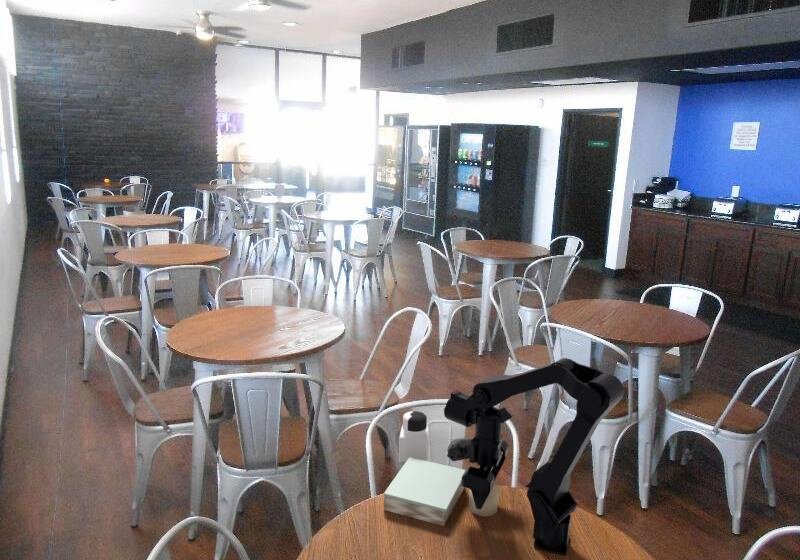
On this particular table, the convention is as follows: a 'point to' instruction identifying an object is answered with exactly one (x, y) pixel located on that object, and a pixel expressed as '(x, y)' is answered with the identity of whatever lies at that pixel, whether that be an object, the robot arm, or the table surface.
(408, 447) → the medicine bottle
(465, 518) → the table surface
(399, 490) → the lid
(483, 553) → the table surface
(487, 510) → the cream dome knob
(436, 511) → the box
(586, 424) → the robot arm
